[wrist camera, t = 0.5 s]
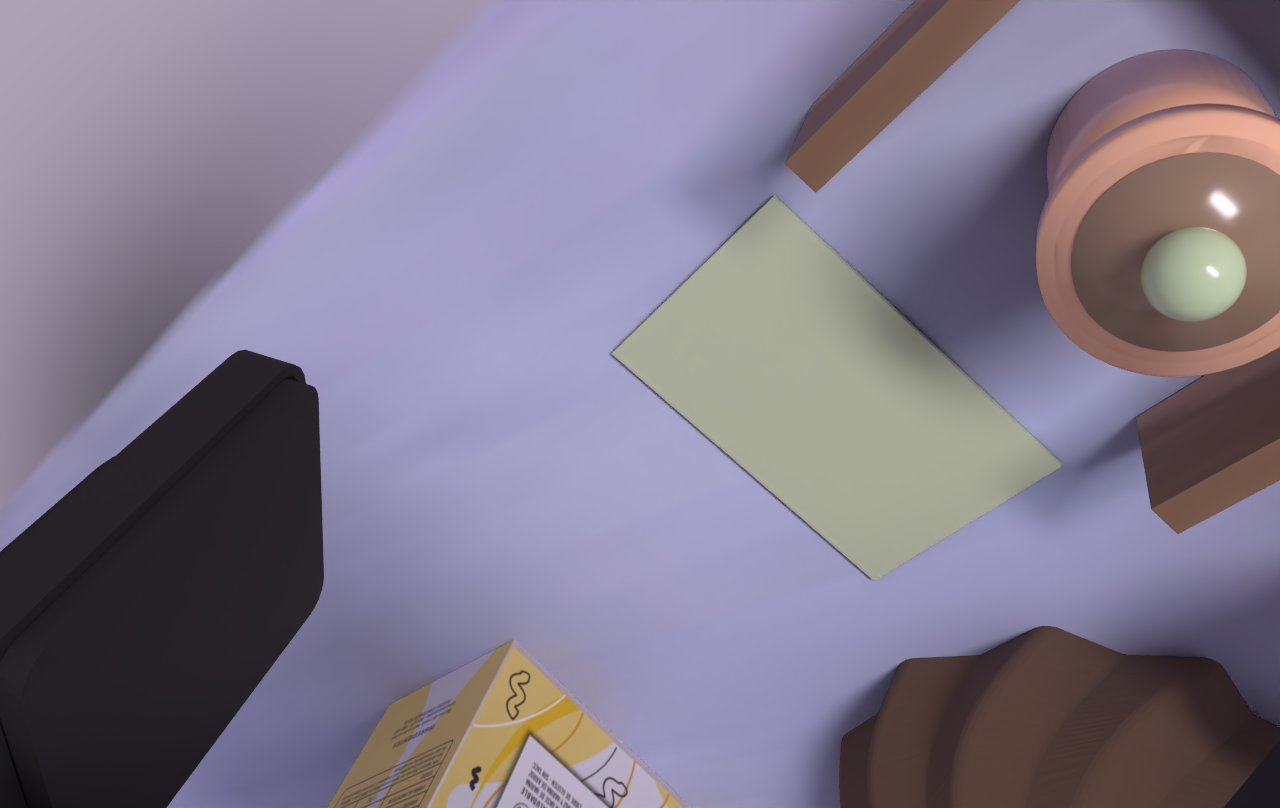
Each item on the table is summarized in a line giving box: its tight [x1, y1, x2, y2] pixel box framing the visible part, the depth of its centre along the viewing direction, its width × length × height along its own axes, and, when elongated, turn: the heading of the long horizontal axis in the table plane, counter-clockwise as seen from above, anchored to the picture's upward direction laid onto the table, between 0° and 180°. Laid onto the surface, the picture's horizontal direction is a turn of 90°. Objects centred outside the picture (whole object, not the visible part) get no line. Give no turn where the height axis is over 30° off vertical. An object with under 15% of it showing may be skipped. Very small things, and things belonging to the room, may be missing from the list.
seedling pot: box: [1036, 49, 1280, 377], centre depth 28 cm, size 7×7×9 cm
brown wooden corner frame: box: [785, 0, 1280, 534], centre depth 28 cm, size 18×15×5 cm
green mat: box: [612, 195, 1062, 581], centre depth 39 cm, size 14×9×1 cm, turn 51°
